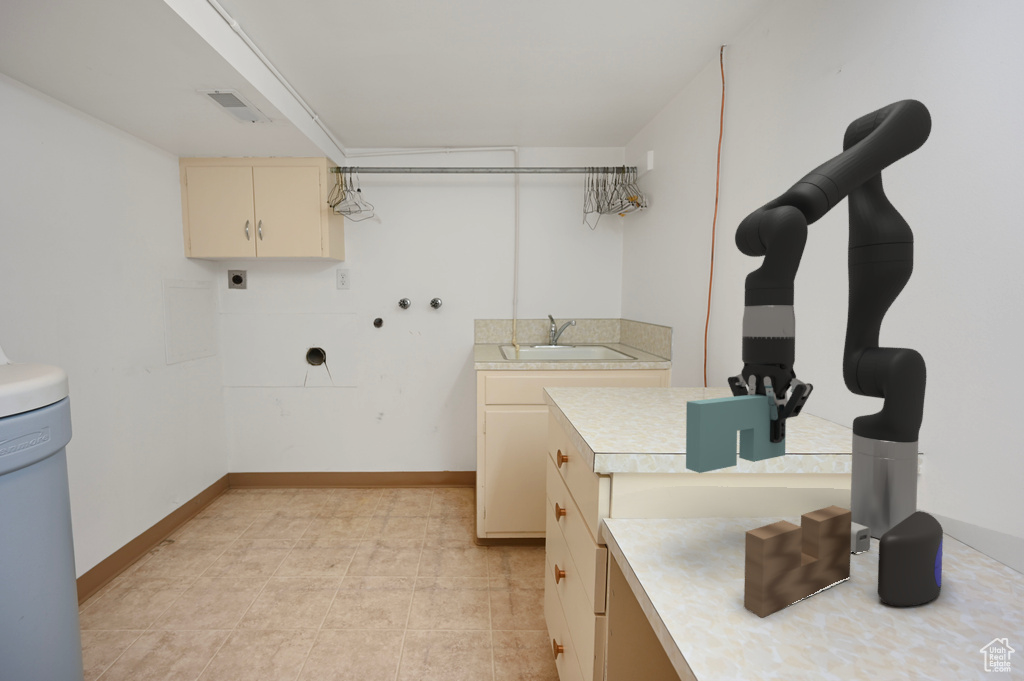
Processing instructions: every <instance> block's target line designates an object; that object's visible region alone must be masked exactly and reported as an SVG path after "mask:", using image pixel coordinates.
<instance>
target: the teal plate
mask: <svg viewBox="0 0 1024 681" xmlns="http://www.w3.org/2000/svg"><path fill="white" fill-rule="evenodd" d="M776 399H779V397H778V398H776ZM685 414H686V417H685V418H686V421H685V422H686V424H685V428H686V432H685V434H686V435H685V439H686V440H685V469H686V470H689V471H693V472H695V473H698V474H701V473H706V472H712V471H715V470H721V469H727V468H731V467H735V466H737V464H738V463H737V460H738V458H739V459H743V460H745V461H749V462H758V461H759V462H760V461H764V460H769V459H774V458H778V457H784V456H786V437H787V436H786V432H787V431H786V428H787V425H786V424H787V422H786V421H787V420H786V421H785V438H784V439H783V440H782V442H780V443H772V442H770V420H772V418H771V415H770V405H769V404H768V397H767V396H765V395H758V394H757V395H744V396H735V397H734V396H728V397H719V398H718V397H717V398H709V399H700V400H689V401H686V412H685ZM738 431H739V441H738ZM738 442H739V443H738ZM738 444H739V452H738ZM738 453H739V454H738ZM737 454H738V455H737ZM737 457H738V458H737Z"/></svg>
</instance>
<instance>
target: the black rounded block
mask: <svg viewBox="0 0 1024 681" xmlns="http://www.w3.org/2000/svg"><path fill="white" fill-rule="evenodd" d="M943 530H944V529H943V527H942V524H940V522H939V521H938V520H937V519H936V517H934V516H933V515H931V514H930V513H928V512H925V511H921V510H919V511H917V510H916V512H915V513H913V514H912V515H910V516H909V517H907V518H906V519H904V520H903V521H902V522H900V523H899V524H897V525H896V526H894V527H893V528H891V529H890V530H889V531H887V532H886V533H884V534H883V535H882V537H881V539H879V542H878V567H877V595H878V597H879V598H880V599H881V600H882V602H884V603H886V604H888V605H889V606H895V607H910V606H918V605H921V604H924V603H927V602H928V603H929V601H932V600H933V599H935V598H936V597H937V596H938V595H939V593H940V592H941V590H942V570H943V569H942V568H943V543H944V542H943V541H944V540H943V539H944V535H943V534H944V531H943Z"/></svg>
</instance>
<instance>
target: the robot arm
mask: <svg viewBox="0 0 1024 681" xmlns="http://www.w3.org/2000/svg"><path fill="white" fill-rule="evenodd" d="M932 123H933V122H932V115H931V113H930V111H929V109H928V107H927V106H926V105H925V103H923V102H921V101H920V100H916V99H912V98H911V99H910V98H909V99H901V100H898V101H896V102H892V103H890V104H887V105H885V106H883V107H881V108H878V109H876V110H873V111H871V112H869V113H867V114H864V115H862V116H860V117H858V118H856V119H854V120H853V121H851V123H849V125H848V126H847V127H846V130H845V132H844V135H843V139H842V140H843V142H842V152H840V153H839V154H838V155H836V156H834V157H831V158H830V159H829V160H826V161H824V163H821V164H820V165H818V166H817V167H815V168H814V169H812V170H811V171H808V172H807V174H805V175H804V176H802V177H801V178H800V179H799V180H797V181H796V182H795V183H794V184H792V186H790V188H788V189H787V190H786V191H785V192H783V193H781V195H779V196H777V197H776V198H774V199H772V200H770V201H769V202H767V203H765V204H764V205H762V206H760V207H759V208H757V209H755V210H754V211H752V212H751V213H750V214H748V215H747V216H745V217H744V218H743V219H742V221H741V222H740V223H739V225H738V226H737V228H736V230H735V234H734V242H735V245H736V247H737V249H738V251H739V252H740V253H742V254H743V255H745V256H748V257H752V258H753V257H754V258H757V257H759V258H760V257H763V258H764V259H763V261H762V263H761V265H760V267H758V268H757V269H755V270H752V271H751V272H749V273H748V274H747V275H746V276H745V280H744V305H743V306H744V308H743V316H742V324H741V326H742V328H741V329H742V330H741V331H742V333H741V334H742V335H741V337H742V338H741V343H742V344H741V361H742V362H743V368H742V369H741V372H740V373H739V374H738V375H737V374H736V376H729V377H728V378H727V383H728V385H729V387H730V391H731V393H732V397H735V396H744V395H757V394H758V395H765V396H767V397H768V404H769V405H770V415H771V418H772V420H770V442H772V443H780V442H782V440H783V439H784V438H785V421H787V419H789V418H797V417H798V416H799V414H800V413H801V411H802V410H803V407H804V406H805V404H806V403H807V400H808V399H809V398H810V396H811V394H812V391H813V390H814V384H812V383H809V382H808V383H805V382H804V381H801V380H800V379H798V378H797V375H796V372H795V370H794V365H795V360H796V314H795V307H794V306H795V279H796V276H797V272H798V270H799V268H800V264H801V261H802V257H803V254H804V251H805V248H806V245H807V241H808V235H809V234H808V233H809V231H808V227H809V226H810V225H813V224H814V223H817V221H819V220H820V219H822V218H823V217H824V216H825V215H827V213H830V211H831V210H832V209H833V208H834V207H836V206H837V205H838V204H840V202H841V201H843V200H844V199H845V198H847V204H848V205H847V206H848V207H847V209H848V210H847V211H848V241H847V242H848V244H847V274H848V276H847V277H848V278H847V280H848V281H847V282H848V301H847V302H848V303H847V304H848V305H847V306H848V307H847V322H846V332H845V337H844V338H845V340H844V347H843V348H844V349H843V355H842V356H843V357H842V377H843V381H844V384H845V386H846V388H847V390H848V391H849V392H851V393H852V394H854V395H856V396H857V395H858V396H863V397H870V398H876V399H884V400H883V405H882V408H881V410H880V411H878V412H875V413H872V414H866V415H865V414H864V415H858V416H856V417H855V418H854V419H853V421H852V432H851V433H852V438H851V439H852V441H851V477H850V478H851V480H850V481H851V482H850V483H851V484H850V508H849V511H852V516H851V522H854V523H857V524H860V525H863V526H865V527H868V528H870V531H871V532H870V537H872V538H876V539H879V540H880V539H881V537H882V535H883V534H884V533H886V532H887V531H889V530H890V529H891V528H893V527H894V526H896V525H897V524H899V523H900V522H902V521H903V520H904V519H906V518H907V517H909V516H910V515H912V514H913V513H915V512H917V502H918V472H919V471H918V468H919V467H918V466H919V435H920V434H919V433H920V429H921V426H922V423H923V419H924V407H925V397H926V389H927V388H926V387H927V376H928V375H927V366H926V362H925V360H924V359H925V358H924V357H923V355H922V354H921V353H920V352H919V351H918V350H916V349H913V348H908V347H889V346H887V347H885V346H879V345H880V343H879V342H880V332H881V325H882V323H883V320H884V318H885V316H886V314H887V312H888V311H889V309H890V308H891V306H892V304H894V302H895V301H896V299H897V298H898V297H899V295H900V294H901V292H902V291H903V290H904V289H905V287H906V285H907V284H908V282H909V281H910V279H911V277H912V274H913V270H914V253H915V252H914V250H915V249H914V247H915V246H914V245H915V244H914V243H915V242H914V233H913V231H912V228H911V226H910V225H909V223H908V222H907V220H906V219H905V218H904V216H902V215H901V213H900V212H899V211H898V209H896V207H895V206H894V205H893V203H891V201H890V200H889V199H888V197H887V195H886V193H885V190H884V186H883V176H882V175H883V174H882V171H883V170H885V169H887V168H888V167H890V166H891V165H893V164H894V163H896V162H898V161H900V160H901V159H903V158H905V157H907V156H909V155H911V154H913V153H914V152H916V151H917V150H919V149H920V148H921V147H923V145H924V144H925V143H926V142H927V140H928V139H929V137H930V135H931V132H932V126H933V125H932ZM747 387H748V389H747ZM790 387H791V388H790ZM789 389H790V393H791V394H790V397H789V398H788V393H787V392H788V390H789ZM778 397H779V399H776V398H778ZM785 439H786V438H785Z"/></svg>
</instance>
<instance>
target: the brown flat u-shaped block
mask: <svg viewBox="0 0 1024 681" xmlns="http://www.w3.org/2000/svg"><path fill="white" fill-rule="evenodd" d="M851 516H852V511H850V509H846V508H842V507H840V506H836V505H830V506H829V505H828V506H826V507H823V508H819V509H816V510H813V511H809V512H806V513H803V514H800V525H798V524H794V523H792V522H790V521H786V520H784V519H783V520H780V521H776V522H773V523H770V524H767V525H763V526H759V527H756V528H753V529H749V530H747V531H745V535H744V536H745V538H744V539H745V541H744V542H745V543H744V544H745V546H744V547H745V548H744V588H743V589H744V590H743V592H744V593H743V594H744V595H743V608H744V607H745V609H747V610H748V611H750V612H751V613H753V614H754V615H756V616H758V617H760V618H762V619H763V618H765V617H768V616H770V615H772V614H774V612H775V613H777V612H779V611H781V610H783V608H784V607H786V606H788V605H790V604H792V603H794V602H796V601H798V600H801V599H802V598H805V597H807V596H809V595H811V594H814V593H815V592H817V591H819V590H820V589H823V588H825V587H827V586H829V585H831V584H833V583H835V582H838V581H840V580H843V579H846V578H848V577H850V578H851V554H852V552H851ZM790 606H791V605H790ZM788 607H789V606H788ZM786 608H787V607H786ZM784 609H785V608H784Z"/></svg>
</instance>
